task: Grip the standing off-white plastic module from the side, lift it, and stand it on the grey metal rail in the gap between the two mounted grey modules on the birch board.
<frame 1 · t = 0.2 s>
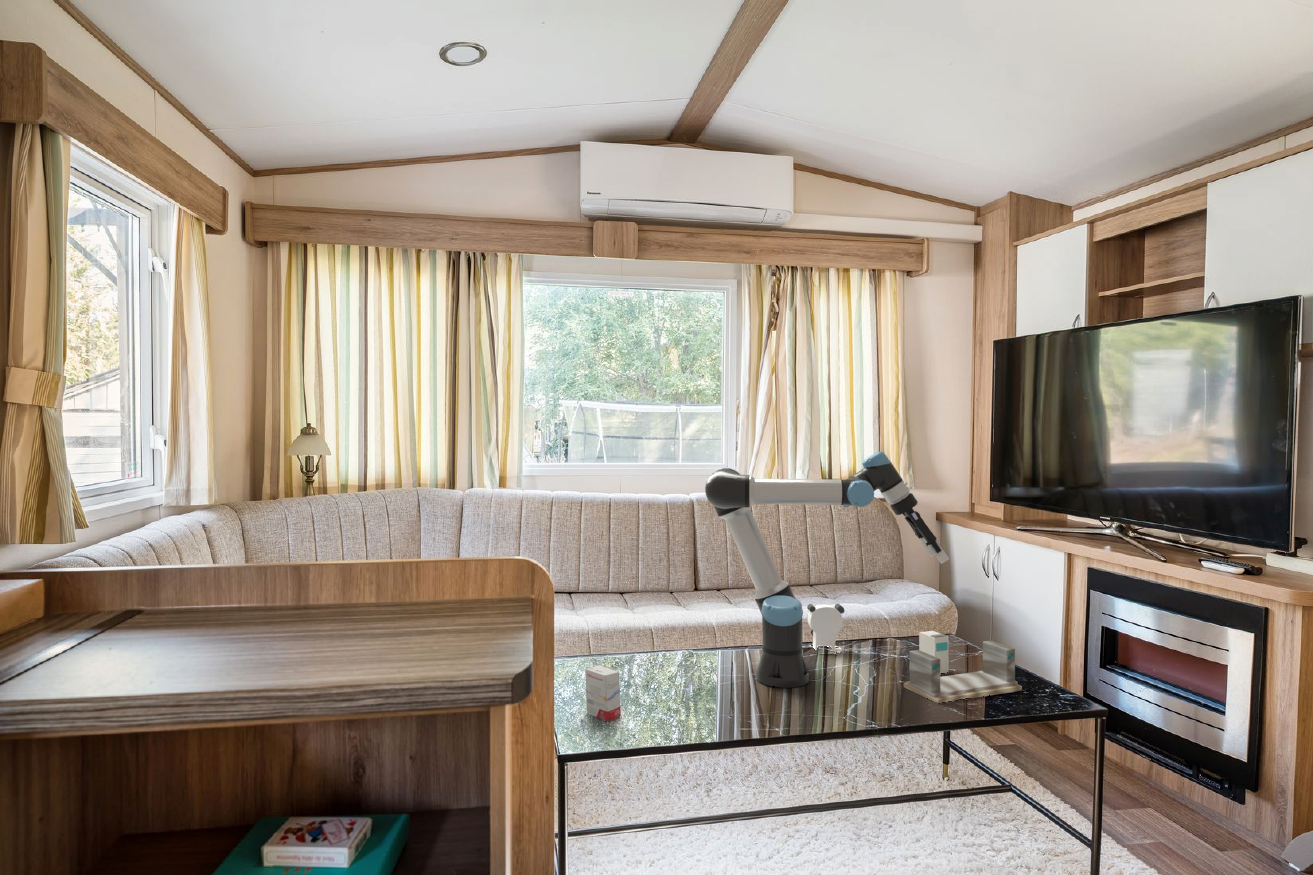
hand: (940, 558, 228), 34 cm above the table, tool tilted 35°, fingers open, 13 cm apart
panda figurine: (825, 650, 252), on the table
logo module: (933, 670, 230), on the table
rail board: (962, 688, 214), on the table
ink box: (603, 716, 196), on the table
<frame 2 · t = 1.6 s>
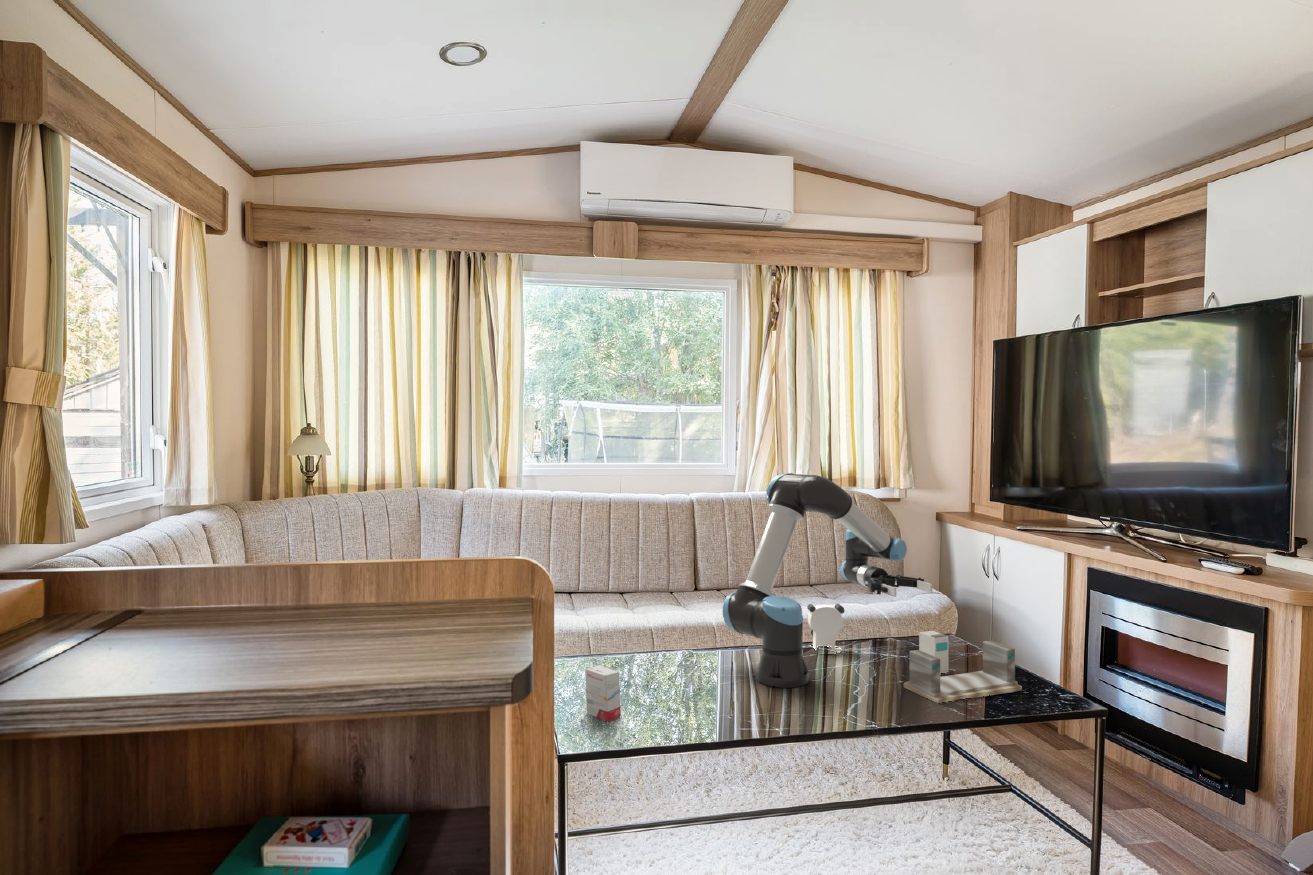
hand: (913, 590, 238), 23 cm above the table, tool horizontal, fingers open, 13 cm apart
nothing on the table moved.
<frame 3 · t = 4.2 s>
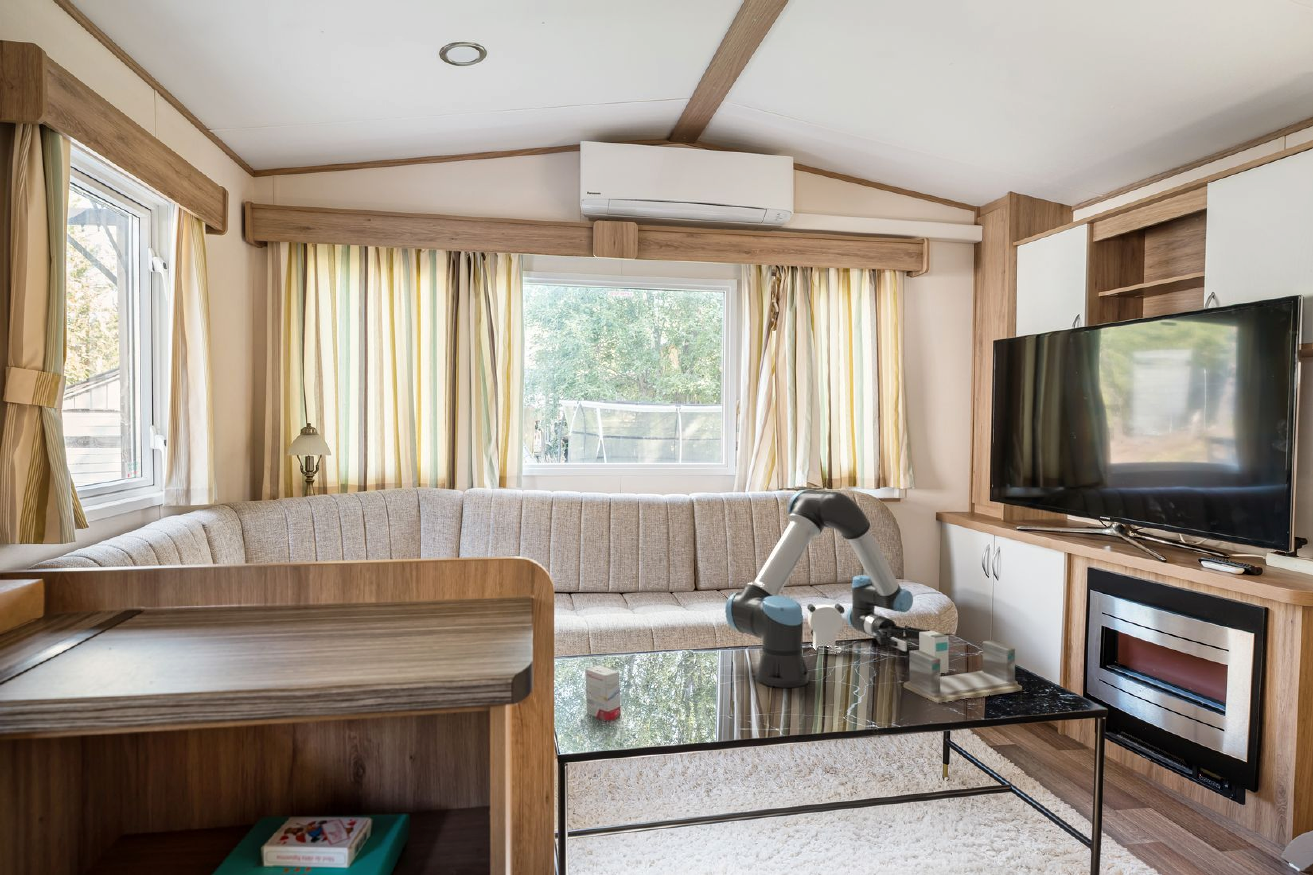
hand: (923, 644, 235), 6 cm above the table, tool horizontal, fingers open, 13 cm apart
nothing on the table moved.
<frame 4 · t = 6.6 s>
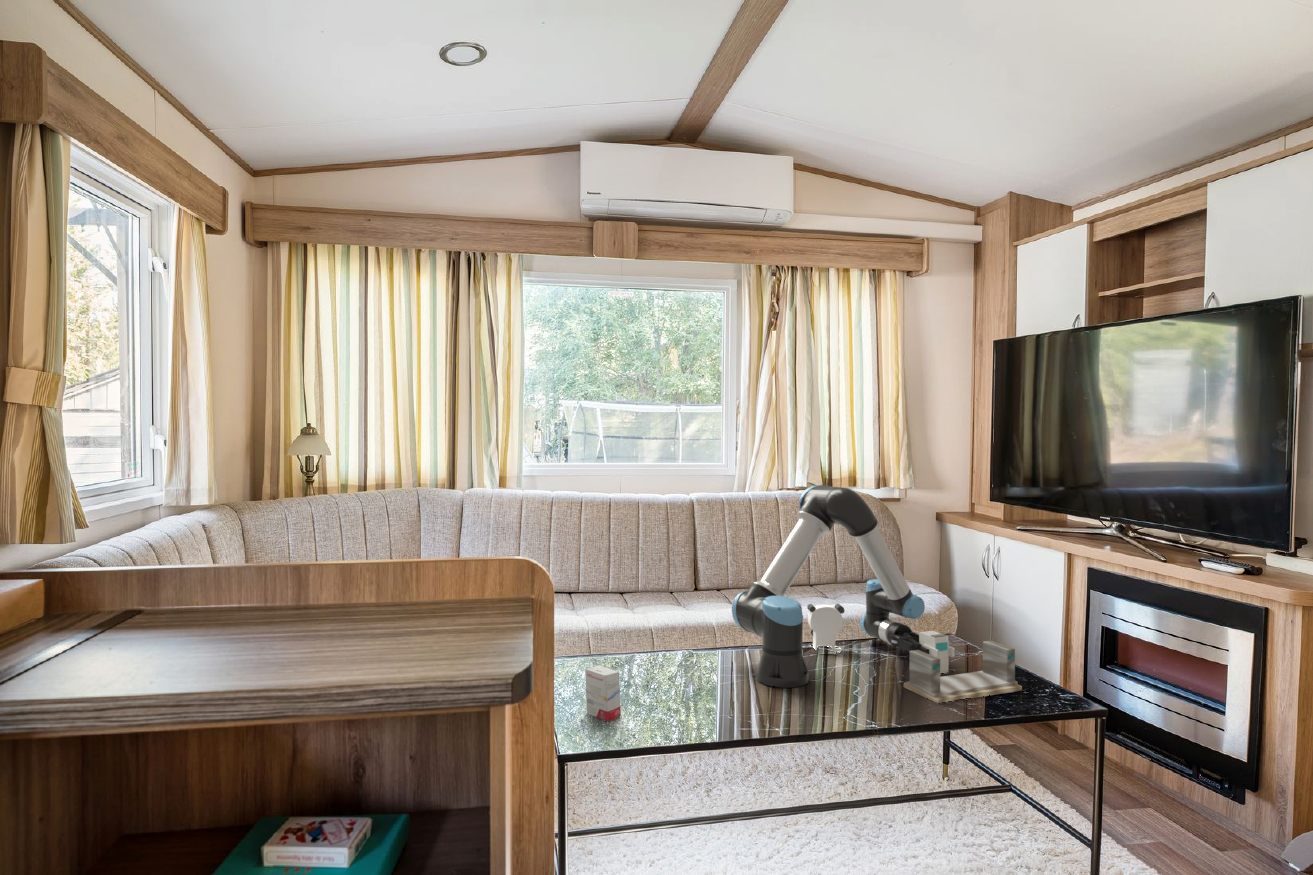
hand: (945, 653, 225), 7 cm above the table, tool horizontal, fingers closed on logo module, 5 cm apart
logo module: (933, 670, 230), on the table, touching gripper
everything else where it was.
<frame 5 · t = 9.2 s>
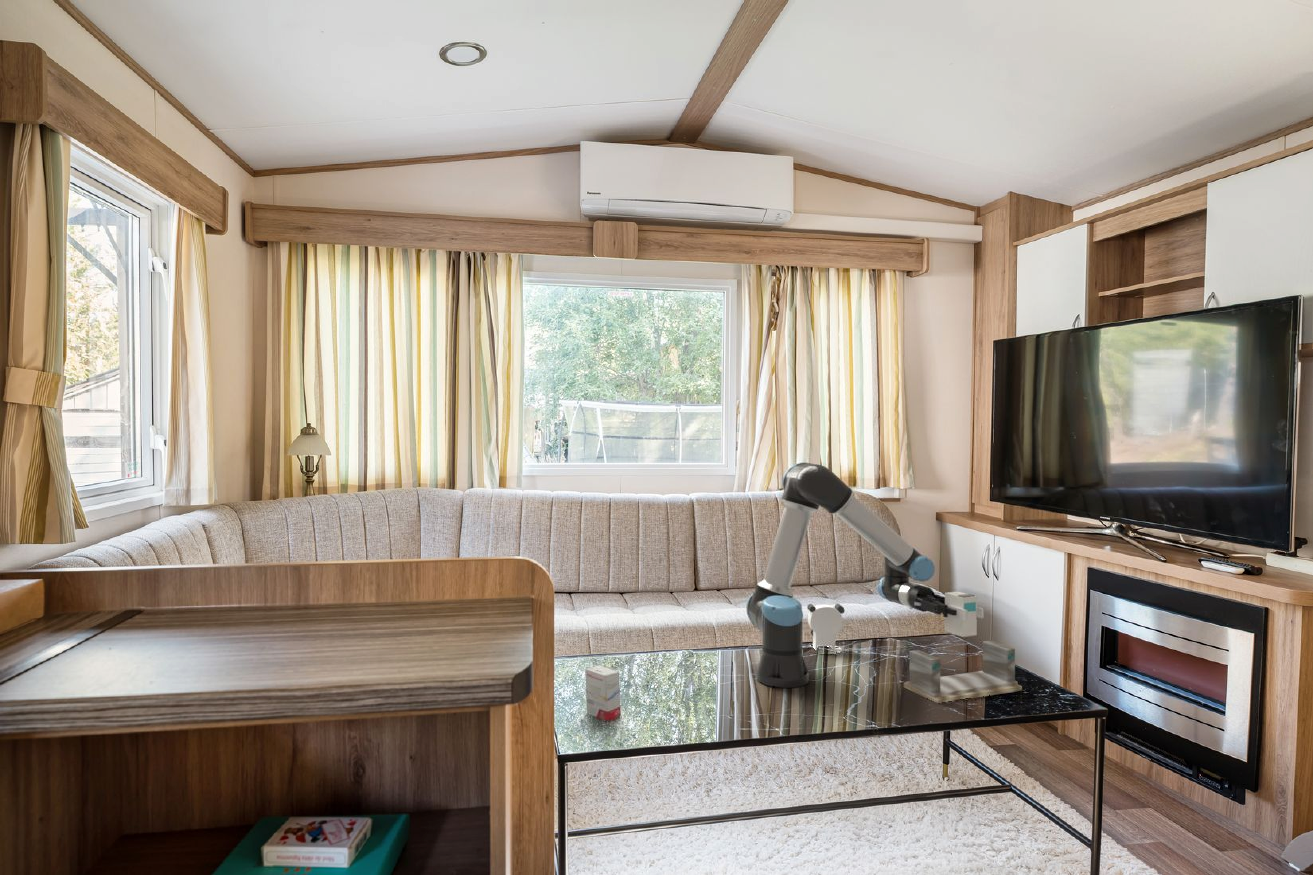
hand: (974, 614, 211), 22 cm above the table, tool horizontal, fingers closed on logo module, 5 cm apart
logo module: (960, 632, 216), point 15 cm above the table, touching gripper
everything else where it was.
when the fingers open (10 cm above the table, at t = 11.9 s): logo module drops 1 cm, resting on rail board.
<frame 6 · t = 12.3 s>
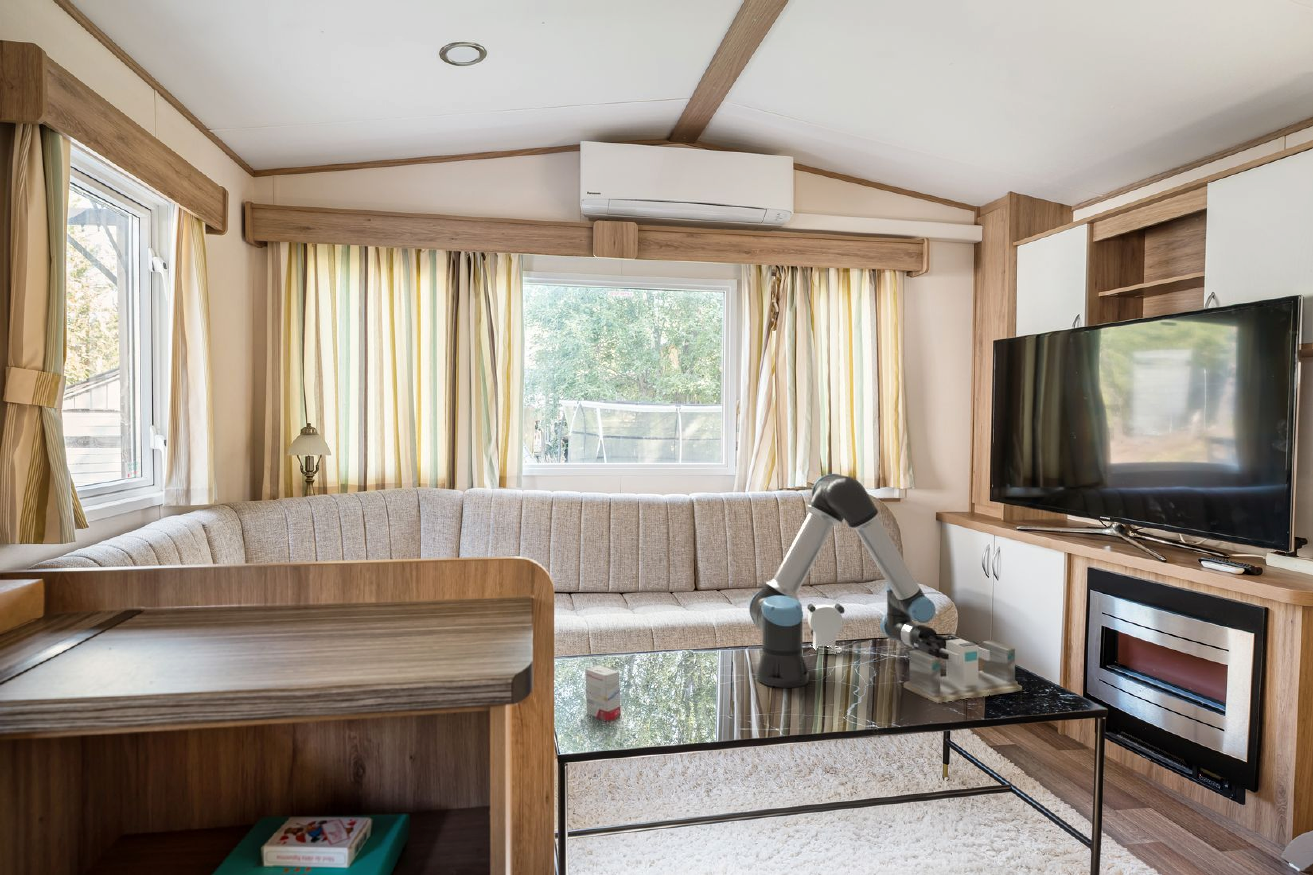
hand: (973, 657, 210), 10 cm above the table, tool horizontal, fingers open, 10 cm apart
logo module: (962, 681, 214), point 2 cm above the table, touching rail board
everything else where it was.
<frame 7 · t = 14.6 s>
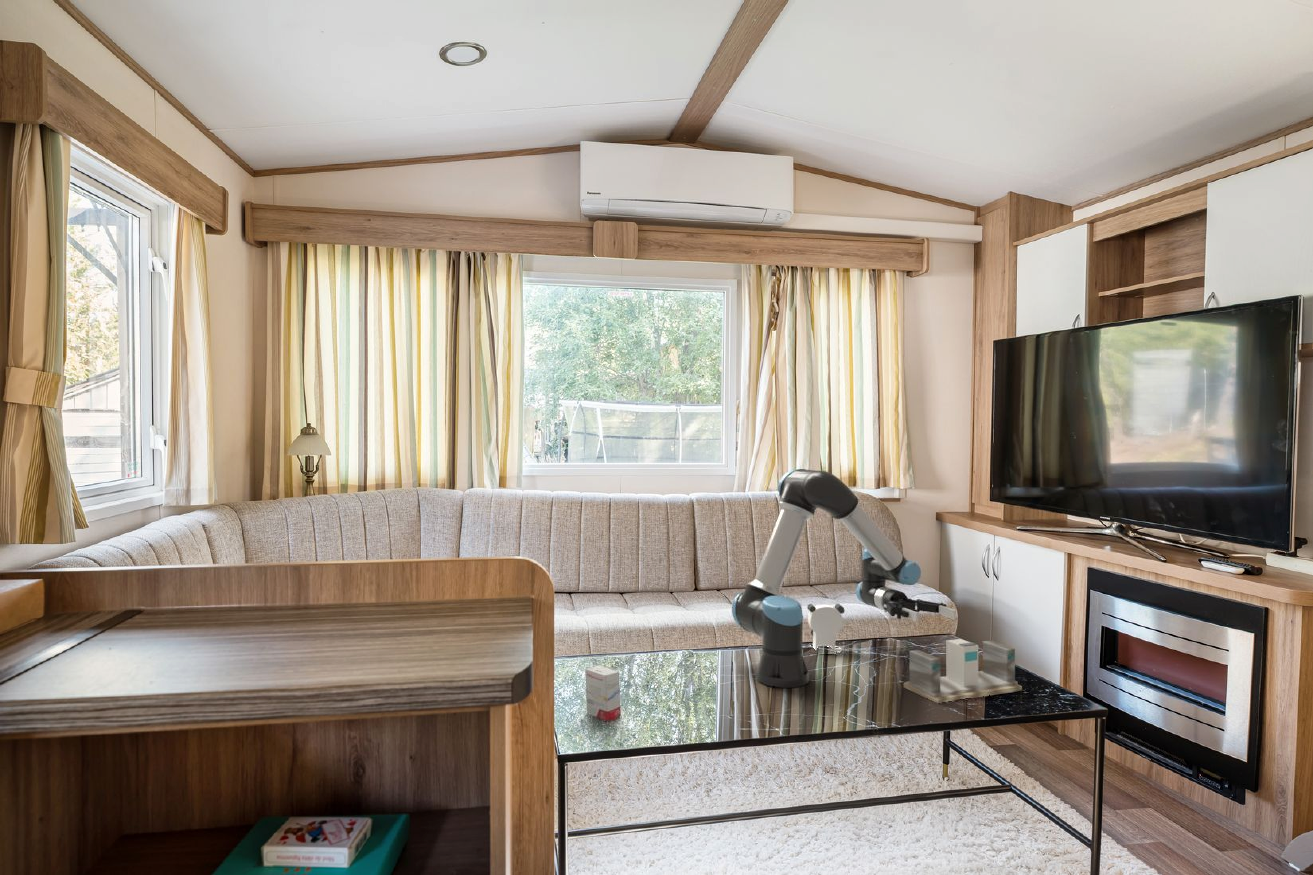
hand: (936, 615, 225), 18 cm above the table, tool horizontal, fingers open, 13 cm apart
nothing on the table moved.
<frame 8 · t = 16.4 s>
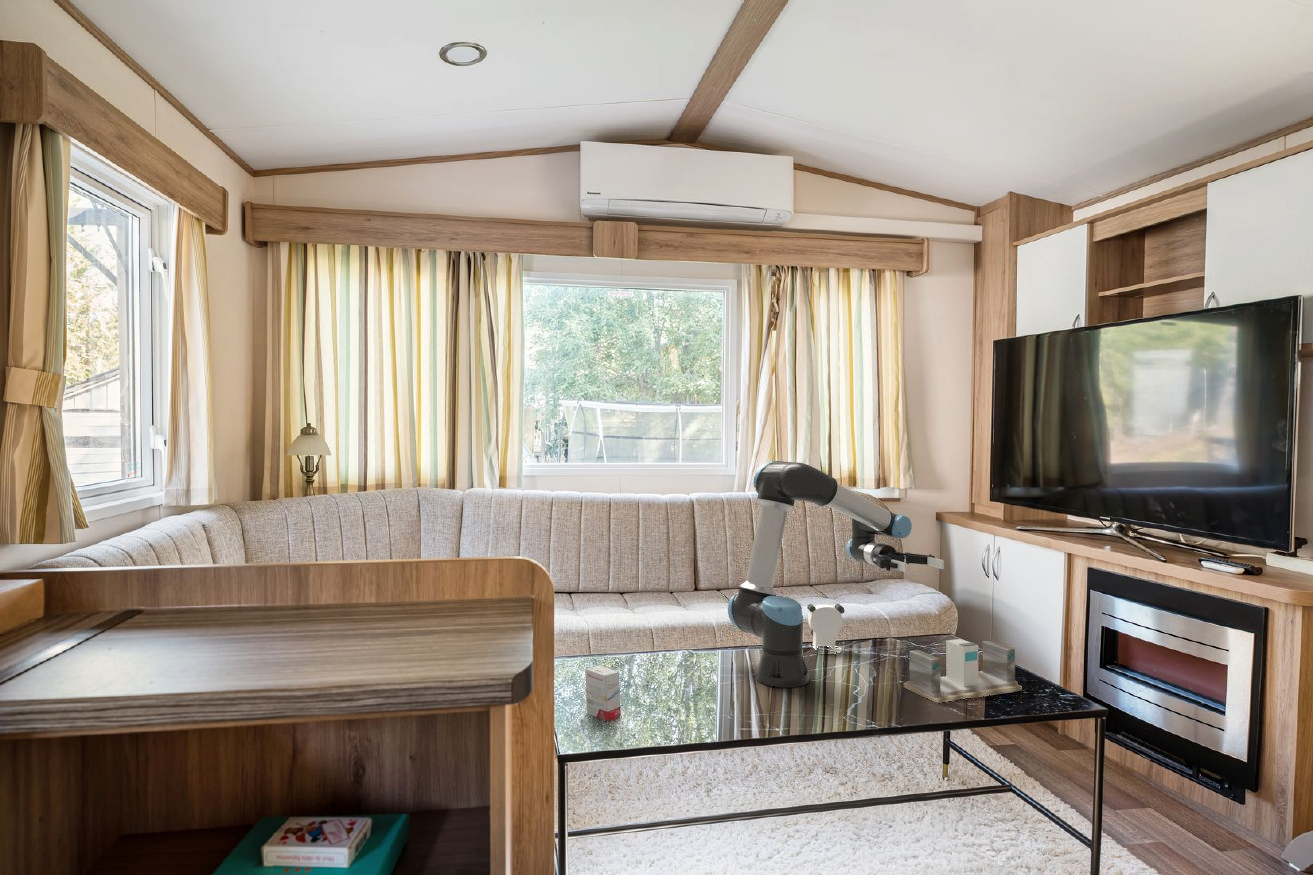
hand: (924, 566, 228), 32 cm above the table, tool horizontal, fingers open, 13 cm apart
nothing on the table moved.
at the end: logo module inside the target area on the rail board (0.1 cm from its centre), point 2.0 cm above the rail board's base; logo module tilted 0°; the gripper is holding nothing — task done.
